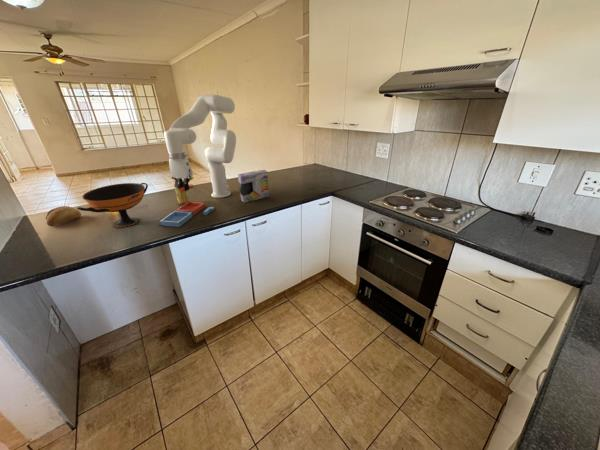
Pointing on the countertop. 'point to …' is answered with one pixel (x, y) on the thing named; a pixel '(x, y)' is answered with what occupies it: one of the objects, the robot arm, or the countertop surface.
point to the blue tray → (176, 218)
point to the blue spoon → (208, 210)
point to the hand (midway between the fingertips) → (185, 189)
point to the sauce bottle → (181, 194)
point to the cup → (116, 200)
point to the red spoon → (184, 188)
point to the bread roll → (62, 215)
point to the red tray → (192, 207)
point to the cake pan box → (253, 185)
